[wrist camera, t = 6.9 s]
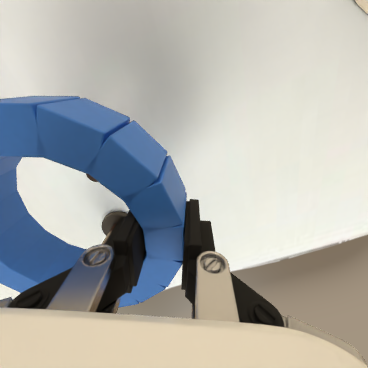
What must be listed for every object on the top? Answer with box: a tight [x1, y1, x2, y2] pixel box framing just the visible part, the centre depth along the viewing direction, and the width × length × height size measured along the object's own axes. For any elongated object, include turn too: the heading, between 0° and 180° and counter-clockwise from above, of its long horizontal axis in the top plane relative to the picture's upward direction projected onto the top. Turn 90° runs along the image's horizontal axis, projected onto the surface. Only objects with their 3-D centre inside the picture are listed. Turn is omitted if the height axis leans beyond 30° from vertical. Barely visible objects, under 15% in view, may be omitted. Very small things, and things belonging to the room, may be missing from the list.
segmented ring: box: [0, 96, 187, 308], centre depth 11 cm, size 13×13×3 cm
